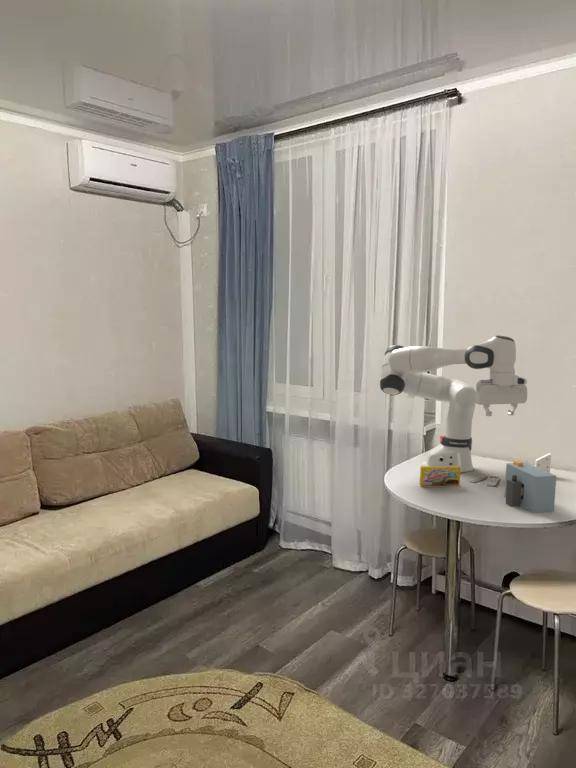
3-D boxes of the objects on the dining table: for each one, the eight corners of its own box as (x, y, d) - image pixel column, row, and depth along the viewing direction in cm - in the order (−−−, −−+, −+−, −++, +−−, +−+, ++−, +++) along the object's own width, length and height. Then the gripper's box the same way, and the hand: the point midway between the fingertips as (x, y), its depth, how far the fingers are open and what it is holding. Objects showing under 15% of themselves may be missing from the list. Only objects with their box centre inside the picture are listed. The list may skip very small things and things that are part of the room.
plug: (511, 506, 213) (513, 477, 211) (505, 503, 216) (507, 474, 215) (529, 505, 215) (531, 476, 213) (523, 502, 218) (525, 473, 217)
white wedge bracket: (560, 471, 250) (551, 453, 250) (538, 482, 252) (529, 464, 251) (557, 469, 254) (548, 451, 253) (536, 479, 256) (526, 462, 255)
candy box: (420, 487, 235) (421, 467, 234) (419, 485, 237) (419, 465, 236) (460, 486, 236) (461, 466, 235) (458, 485, 238) (459, 465, 237)
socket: (534, 512, 207) (536, 473, 205) (504, 496, 224) (506, 460, 222) (553, 511, 209) (556, 472, 207) (523, 495, 226) (525, 459, 224)
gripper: (481, 381, 215) (479, 418, 216) (530, 379, 219) (528, 416, 221) (472, 378, 221) (470, 415, 222) (520, 377, 225) (518, 413, 227)
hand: (499, 415), depth 222 cm, fingers open, 8 cm apart
